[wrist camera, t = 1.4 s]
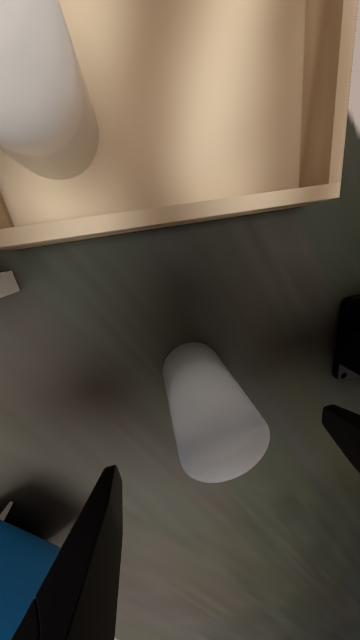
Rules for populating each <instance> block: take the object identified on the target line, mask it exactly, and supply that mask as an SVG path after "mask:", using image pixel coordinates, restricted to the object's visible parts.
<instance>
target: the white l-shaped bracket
mask: <svg viewBox="0 0 360 640" xmlns="http://www.w3.org/2000/svg"><path fill="white" fill-rule="evenodd" d="M18 291H20V289H19V287H18V284H17V282H16V280H15V277H14V275H13V272H12V271H7V272H1V273H0V298H2V297H5V296H7V295H10V294H13V293H15V292H18Z"/></svg>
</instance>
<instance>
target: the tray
mask: <svg viewBox="0 0 360 640" xmlns="http://www.w3.org/2000/svg"><path fill="white" fill-rule="evenodd" d="M59 3H60V6H61V9H62V12H63V15H64V18H65V21H66V25H67V28H68V31H69V34H70V37H71V40H72V43H73V46H74V49H75V53H76V56H77V59H78V62H79V65H80V68H81V71H82V74H83V78H84V81H85V84H86V87H87V90H88V93H89V96H90V99H91V103H92V106H93V109H94V112H95V115H96V119H97V124H98V132H99V139H98V147H97V151H96V154H95V157H94V159H93V161H92V163H91V164H90V165H89V167H88V168H87V169H86V170H85V171H84V172H82V173H81V174H79V175H78V176H76V177H73V178H70V179H66V180H53V179H48V178H44V177H42V176H39V175H37V174H35V173H33V172H31V171H30V170H28V169H27V168H25V167H24V166H22V165H21V164H19V163H18V162H17V161H15V160H14V159H12V158H11V157H9V156H8V155H7V154H5V153H4V152H2V151H1V150H0V250H17V249H24V248H30V247H37V246H44V245H50V244H57V243H64V242H70V241H77V240H84V239H90V238H97V237H104V236H110V235H117V234H123V233H130V232H137V231H143V230H150V229H157V228H163V227H170V226H177V225H183V224H190V223H197V222H203V221H210V220H217V219H223V218H230V217H236V216H243V215H250V214H256V213H263V212H270V211H276V210H283V209H290V208H296V207H302V206H306V205H310V204H314V203H318V202H322V201H326V200H330V199H334V198H338V197H339V195H340V185H341V175H342V164H343V154H344V144H345V133H346V123H347V113H348V102H349V92H350V82H351V72H352V61H353V50H354V40H355V30H356V20H357V10H358V0H59Z"/></svg>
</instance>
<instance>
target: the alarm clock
mask: <svg viewBox="0 0 360 640" xmlns="http://www.w3.org/2000/svg"><path fill="white" fill-rule="evenodd" d="M12 504H13V502H11V501H9V502H8V503H7V504H6V505H5V506H4V508H3V509H2V510H1V511H0V640H11V639H12V637H13V635H14V633H15V631H16V630H17V628H18V626H19V624H20V623H21V621H22V619H23V617H24V615H25V613H26V612H27V610H28V608H29V606H30V604H31V602H32V601H33V599H34V598H36V593H37V592H38V590H39V588H40V586H41V584H42V582H43V581H44V579H45V577H46V575H47V573H48V571H49V570H50V568H51V566H52V564H53V562H54V560H55V559H56V557H57V555H58V553H59V551H60V549H61V548H59V547H58V546H56V545H54V544H52V543H50V542H48V541H46V540H44V539H41V538H39V537H37V536H35V535H33V534H31V533H29V532H26V531H24V530H22V529H20V528H18V527H16V526H13V525H11V524H9V523H7V522H5V521H4V519H5V517H6V515H7V514H8V512H9V510H10V508H11V506H12Z"/></svg>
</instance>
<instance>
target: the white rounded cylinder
mask: <svg viewBox="0 0 360 640" xmlns="http://www.w3.org/2000/svg"><path fill="white" fill-rule="evenodd" d="M98 139H99V132H98V124H97V119H96V115H95V112H94V109H93V106H92V103H91V99H90V96H89V93H88V90H87V87H86V84H85V81H84V78H83V74H82V71H81V68H80V65H79V62H78V59H77V56H76V53H75V49H74V46H73V43H72V40H71V37H70V34H69V31H68V28H67V25H66V21H65V18H64V15H63V12H62V9H61V6H60V3H59V0H0V150H1V151H2V152H4V153H5V154H7V155H8V156H9V157H11V158H12V159H14V160H15V161H17V162H18V163H19V164H21V165H22V166H24V167H25V168H27V169H28V170H30V171H31V172H33V173H35V174H37V175H39V176H42V177H44V178H48V179H53V180H66V179H70V178H73V177H76V176H78V175H79V174H81V173H82V172H84V171H85V170H86V169H87V168H88V167H89V165H90V164H91V163H92V161H93V159H94V157H95V154H96V151H97V147H98Z"/></svg>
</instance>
